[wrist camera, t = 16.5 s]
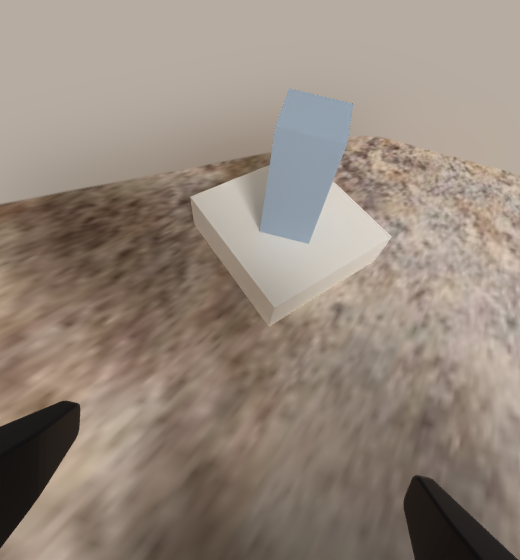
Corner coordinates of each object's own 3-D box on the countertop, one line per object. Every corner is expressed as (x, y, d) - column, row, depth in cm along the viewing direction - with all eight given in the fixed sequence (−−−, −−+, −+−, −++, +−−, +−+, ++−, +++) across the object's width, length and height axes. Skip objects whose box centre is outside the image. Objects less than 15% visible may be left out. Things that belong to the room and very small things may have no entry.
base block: (372, 263, 29) (391, 236, 26) (268, 329, 25) (274, 307, 22) (294, 183, 34) (301, 151, 30) (194, 227, 30) (190, 196, 26)
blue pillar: (316, 207, 27) (353, 103, 19) (308, 243, 25) (347, 143, 17) (270, 196, 27) (289, 88, 19) (259, 231, 25) (275, 126, 17)
